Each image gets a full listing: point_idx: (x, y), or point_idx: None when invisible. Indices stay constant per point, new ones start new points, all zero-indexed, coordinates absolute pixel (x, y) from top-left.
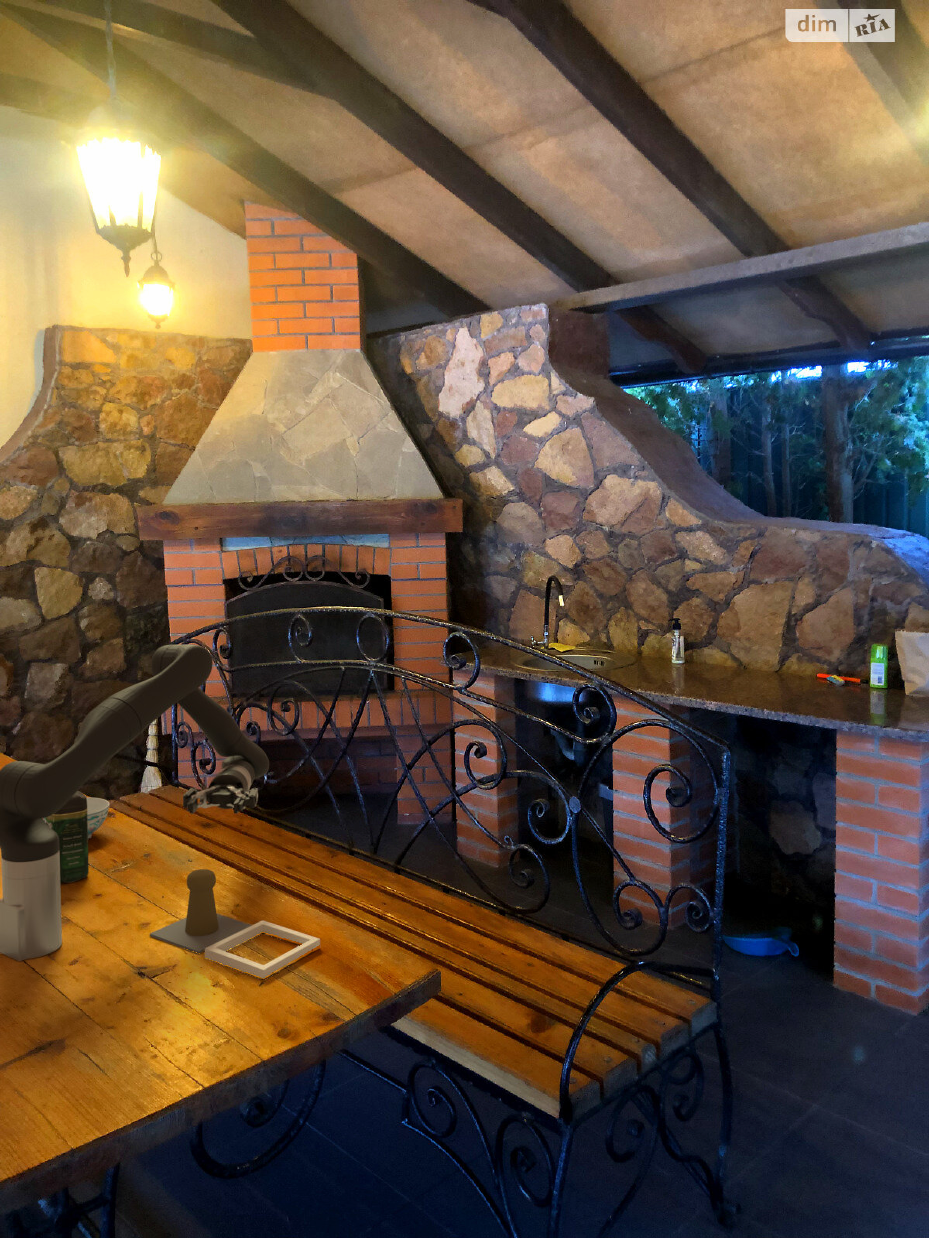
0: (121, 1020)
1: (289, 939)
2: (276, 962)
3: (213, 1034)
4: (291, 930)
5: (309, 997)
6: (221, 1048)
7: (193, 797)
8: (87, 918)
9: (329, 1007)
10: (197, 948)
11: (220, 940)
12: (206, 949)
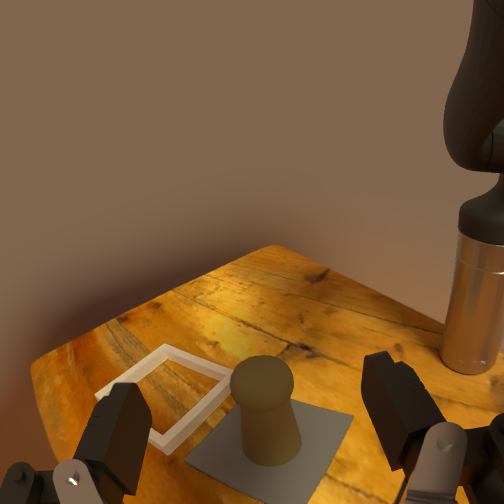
0: (283, 300)
1: None
2: (150, 354)
3: (205, 300)
4: None
5: (131, 335)
6: (198, 292)
7: (437, 426)
8: None
9: (119, 327)
10: None
11: (229, 414)
12: None
